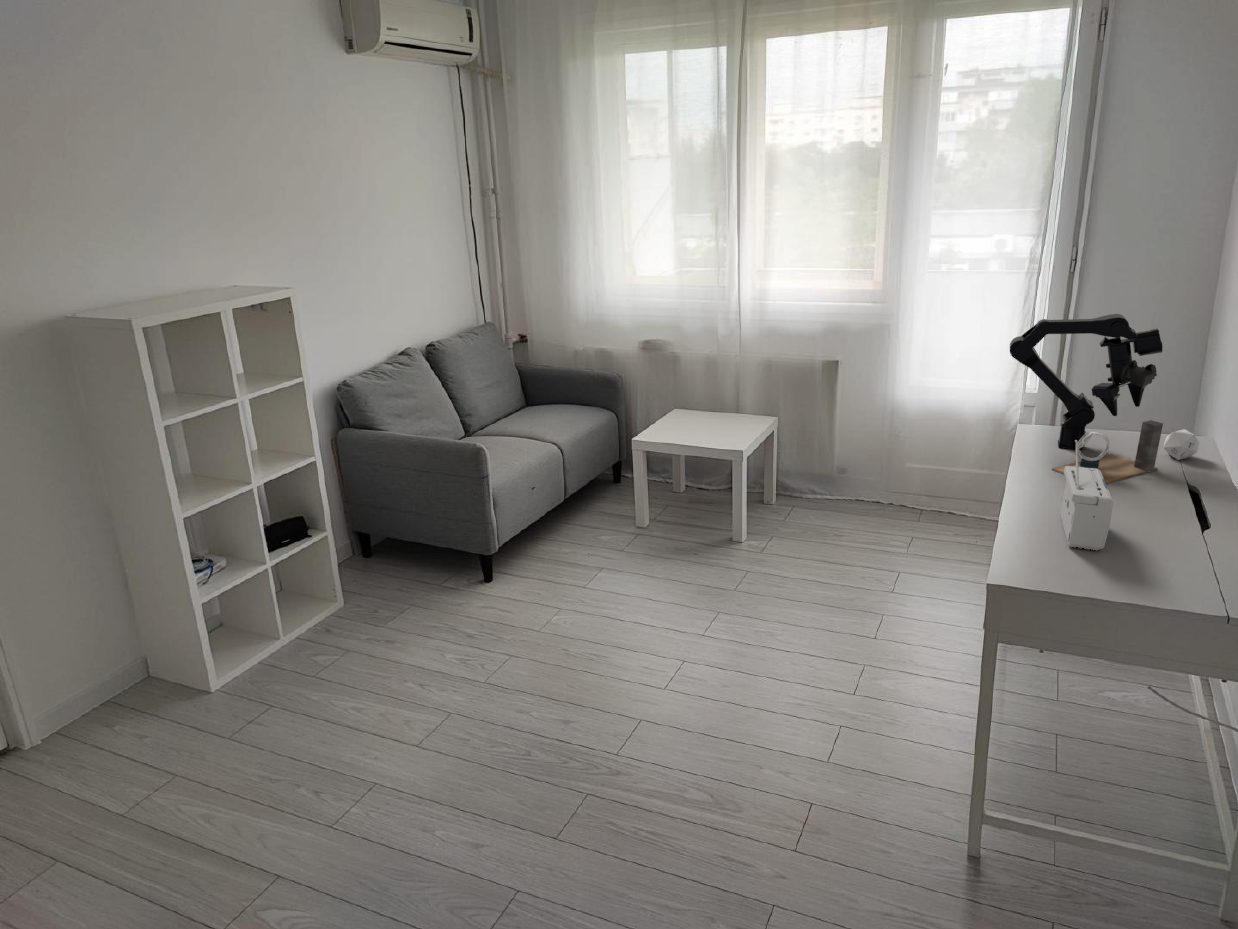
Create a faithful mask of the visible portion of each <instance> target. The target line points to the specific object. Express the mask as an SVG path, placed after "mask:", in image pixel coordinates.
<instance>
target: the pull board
mask: <svg viewBox="0 0 1238 929" xmlns="http://www.w3.org/2000/svg"><path fill="white" fill-rule="evenodd" d="M1141 424H1142V425H1141V428H1140V434H1139V439H1138V444H1137V449H1136V453H1135V454H1136V456H1135V460H1133V459H1130V458H1127V457H1123V456H1120V455H1117V454H1113V453H1108V454H1105V455H1104V456H1103V457H1102V458H1101V459H1100V462H1099V467H1098V470H1100V471H1101V473H1102V476H1103V478H1104V481H1105V483H1106V484H1109V483H1113V482H1116V481H1121V480H1124V479H1128V478H1133V477H1135V476H1136V477H1137V476H1140V475H1142V474H1143V473H1144V474H1147V473H1151V472H1154V471H1158V469H1159V468H1158V467H1155V466H1156V461H1157V458H1158V457H1157V456H1158V453H1159V452H1158V451H1159V445H1160V441H1161V436H1162V431H1163V426H1164V422H1163V423H1162V422H1160V421H1159V422H1158V421H1156V420H1151V419H1150V420H1145V421H1142V423H1141ZM1080 463H1081V460H1078V467H1080ZM1065 466H1075V467H1076V461H1075V462H1073V463H1068V464H1064V465H1059V466H1055V467H1052V468H1051V471H1053V472H1057V473H1059V472H1060V474H1062V475H1064V468H1065ZM1146 472H1147V473H1146Z"/></svg>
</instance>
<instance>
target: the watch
mask: <svg viewBox="0 0 1238 929" xmlns="http://www.w3.org/2000/svg"><path fill="white" fill-rule="evenodd" d="M1094 435H1095V436H1099V437H1102V439H1104V440H1105V441H1106V446H1105V448H1104V449H1103V451H1102V452H1101V453H1100V454H1098V455H1097V457H1095V456H1094V457H1093V456H1089V455H1084V454H1083V453H1082V451H1081V450H1079V449H1080V448H1082V447H1083V446H1084V445H1086V444H1087V443H1088V442H1089V441H1090V439H1091V438H1092V437H1093V436H1094ZM1084 447H1085V446H1084ZM1109 450H1110V440H1109V438H1108V437H1107V435H1105V434H1104V433H1103V432H1101V431H1095V430H1094V431H1093V430H1092V431H1090V432H1089V431H1086V433H1085V434H1084V435H1083V436H1082V437H1081V439H1080V440H1079V441H1078V442H1077V454H1078V456H1079V457H1080V458H1081V460H1080V461H1081V463H1080V467H1084V468H1095V469H1098V467H1099V462H1100V459H1101V458H1102V457H1103V456H1104V455H1107V453H1108V451H1109Z"/></svg>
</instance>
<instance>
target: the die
mask: <svg viewBox="0 0 1238 929" xmlns="http://www.w3.org/2000/svg"><path fill="white" fill-rule="evenodd" d="M1199 445H1200V441H1199V439H1198V438H1197V437H1196V435H1195V434H1194V433H1192V432H1190V431H1189V430H1187V429H1185V428H1183V429H1180V430H1176V431H1173V432H1171V433H1170V434H1168V435H1167V436H1166V437H1165V440H1164V444H1163V446H1162V447H1163V448H1164V450H1165V452H1166V453H1167V454H1168V455H1169V456H1171V457H1172V458H1174V459H1175V460H1177V461H1180V460H1184V459H1188V458H1190V457H1192V456H1194V455H1195V454H1197V453H1198V450H1199Z"/></svg>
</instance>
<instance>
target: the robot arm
mask: <svg viewBox="0 0 1238 929" xmlns="http://www.w3.org/2000/svg"><path fill="white" fill-rule="evenodd" d="M1070 334H1071V335H1073V334H1079V335H1080V334H1081V335H1083V334H1093V335H1096V336H1097V335H1099V336H1102V337H1103V339H1102V340H1101V341H1100V342H1099V346H1100V348H1105V347H1106V348H1107V354H1108V356H1107V357H1108V363H1106V364H1105V367H1106V369H1109V372H1110V377H1107V382H1100V383H1097V384H1096V385H1093V387H1091V394H1092V397H1094V396H1095V398H1098V399H1100V401H1101V402H1102V403H1103V404H1104V406H1106V407H1105V408H1107V410H1108V411H1109V412H1110V414H1111V416H1113V417H1117V416H1118V398H1119V397H1120V396H1121V393H1119V392H1120V388H1121V387H1124V386H1127V388H1128V390H1129V394H1130V396H1131V399H1132V402H1133V404H1134V406H1135V408H1139V407H1140V406H1141V402H1142V398H1143V395H1144V391H1145V388H1146V387H1147V386H1148V385H1150V384H1152V382H1153V380H1155V379H1156V378H1155V377H1157V376H1158V374H1157V373H1158V372H1157V368H1156V364H1152V363H1150V364H1147V365H1146V366H1143V365H1142V366H1139V365H1138V362H1137V361H1136V359H1133V357H1132V356H1133V355H1132V351H1133V354H1137V355H1138V357H1143V356H1148V355H1155V354H1162V353H1163V342H1162V340H1161V335H1160V330H1159V329H1158V328H1153V329H1150V330H1144V331H1138V332H1136V330H1135V329H1134V328H1132V327H1130V324H1129V321H1128V320H1127V319H1126V317H1125V316H1124V315H1123V314H1120V313H1113V314H1107V315H1102V316H1098V317H1095V318H1078V319H1075V318H1073V319H1072V318H1071V319H1046V318H1043V319H1042V318H1041V319H1040V320H1039V321H1037V322H1036V323H1035V325H1033V326H1032V327H1031V328H1029V329H1028V330H1027V331H1025V332H1024V333H1023V334H1021V335H1020V336H1019V335H1018V336H1016V337H1014V338H1012V340H1011V341H1010V344H1009V353H1010V356H1011V357H1012V358H1013V359H1015V360H1017V361H1018V362H1019V363H1020V364H1021V365H1024V366H1025V367H1027V368H1029V369H1031V371H1032V372H1033V373H1034V374H1035V376H1037V377H1038V378H1039V379H1040V381H1042V382H1043V384H1045V385H1046V387H1048V389H1050V391H1051V392H1052V393H1053V394H1054V395H1055V396H1056V397H1057V398H1058V399H1059V400H1060V401H1061V402H1062V403H1063V405H1064V407H1065V408H1066V410H1067V411H1066V412H1065V413H1063V414H1062V421H1063V423H1061V425H1060V431H1059V436H1058V439H1057V447H1058V448H1059V449H1070V450H1076V442H1075V440H1077V442H1078V441H1079V440H1080V439H1081V437H1082V436H1083V435H1084V434H1085V433H1087V431H1086V427H1087V425H1089V424H1091V423H1092V422H1093V421H1094V420H1095V416H1096V413H1095V410H1094V403H1093V401H1092V400H1090V399H1088V398H1087V396H1086V395H1085V393H1084V392H1081V393H1080V394H1078V393H1075V392H1074V391H1072V390H1071V389H1070V387H1069V386H1068V385H1067V384H1066V382H1064V381H1063V380H1062V379H1061V378H1060V377H1059V376H1058V375H1057V374H1056V373H1055V372H1054V371H1053V370H1052V369H1051V367H1049V366H1048V365H1047V363H1046V362H1045V361H1044V360H1043V359H1042V358H1041V357H1040V355H1039V354H1038V351H1037V350H1036V348H1035V347H1036V346H1037V345H1038V343H1039V342H1041V341H1042V340H1043V339H1044V338H1045V337H1046V336H1047V335H1070ZM1121 338H1122V339H1121ZM1131 343H1132V347H1131ZM1085 445H1086V444H1085ZM1085 445H1084V446H1083V447H1085ZM1083 447H1082V448H1080V449H1079V450H1080V451H1082V450H1083V449H1084V448H1083Z"/></svg>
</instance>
